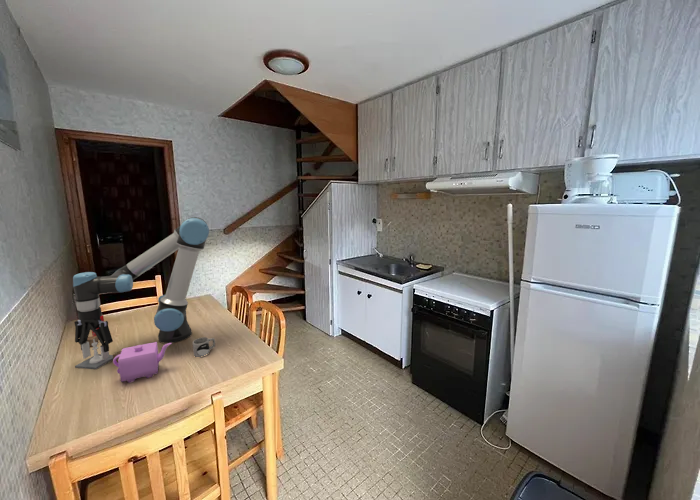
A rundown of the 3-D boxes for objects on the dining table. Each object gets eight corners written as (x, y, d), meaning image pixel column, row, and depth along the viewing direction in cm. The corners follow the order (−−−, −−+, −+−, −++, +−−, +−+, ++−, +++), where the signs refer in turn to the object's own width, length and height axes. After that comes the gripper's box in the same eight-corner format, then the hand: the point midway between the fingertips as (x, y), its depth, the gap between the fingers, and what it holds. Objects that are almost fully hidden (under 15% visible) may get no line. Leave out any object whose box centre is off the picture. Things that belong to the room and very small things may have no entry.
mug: (198, 359, 132) (196, 345, 131) (191, 354, 136) (189, 341, 135) (219, 350, 140) (218, 337, 139) (212, 346, 144) (211, 333, 143)
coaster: (117, 357, 133) (117, 355, 133) (96, 369, 123) (95, 367, 123) (97, 355, 134) (97, 353, 134) (75, 367, 124) (74, 365, 124)
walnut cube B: (129, 360, 131) (128, 351, 130) (119, 364, 127) (118, 356, 126) (123, 358, 132) (122, 350, 132) (113, 362, 129) (112, 354, 128)
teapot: (113, 387, 112) (109, 357, 109) (117, 374, 120) (114, 345, 118) (174, 372, 121) (171, 344, 119) (174, 361, 130) (171, 334, 128)
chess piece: (102, 356, 132) (99, 335, 130) (105, 360, 129) (102, 338, 127) (88, 360, 128) (85, 339, 127) (90, 364, 125) (87, 343, 124)
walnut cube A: (98, 343, 146) (97, 335, 145) (93, 347, 142) (92, 339, 141) (89, 344, 145) (87, 336, 144) (84, 348, 141) (82, 340, 140)
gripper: (119, 306, 127) (125, 354, 131) (76, 304, 130) (83, 351, 133) (103, 313, 120) (110, 364, 124) (57, 310, 122) (65, 360, 126)
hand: (96, 357), depth 128 cm, fingers open, 8 cm apart
